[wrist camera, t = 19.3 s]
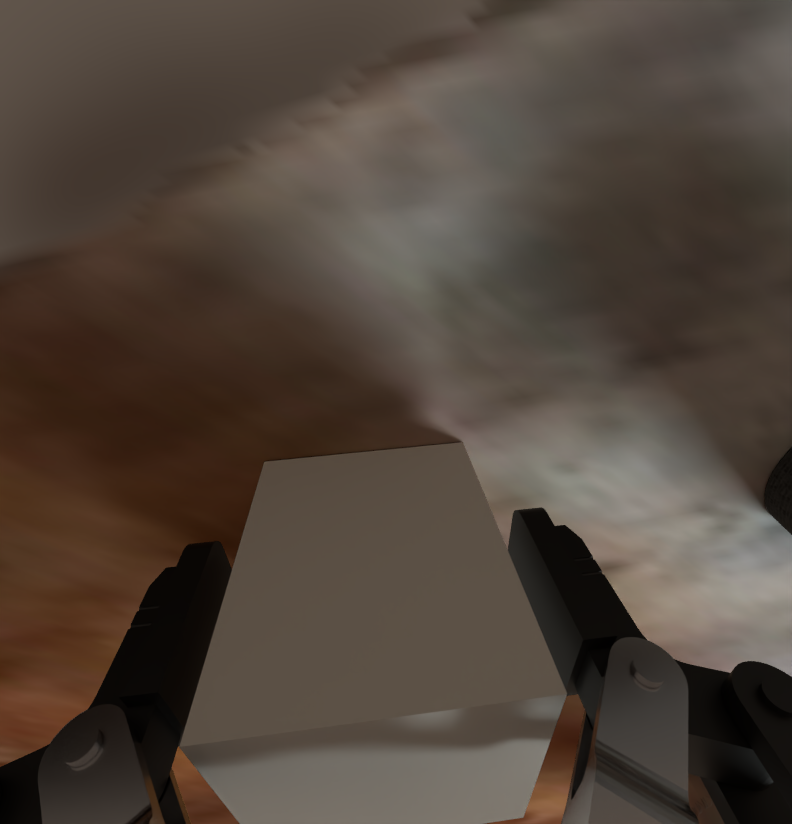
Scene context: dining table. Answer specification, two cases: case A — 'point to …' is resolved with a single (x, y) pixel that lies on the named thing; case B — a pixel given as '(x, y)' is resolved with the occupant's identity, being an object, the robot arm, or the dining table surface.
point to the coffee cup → (781, 493)
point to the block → (374, 651)
